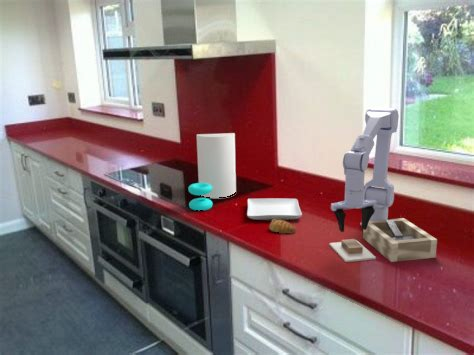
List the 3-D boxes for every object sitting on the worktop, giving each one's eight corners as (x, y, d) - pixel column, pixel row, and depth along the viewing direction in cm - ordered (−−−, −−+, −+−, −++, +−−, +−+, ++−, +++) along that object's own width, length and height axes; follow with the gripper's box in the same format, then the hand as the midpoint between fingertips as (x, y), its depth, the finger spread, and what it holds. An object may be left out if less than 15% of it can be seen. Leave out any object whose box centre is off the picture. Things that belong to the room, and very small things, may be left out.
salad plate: (302, 222, 182) (302, 214, 181) (247, 223, 183) (247, 215, 182) (297, 205, 202) (297, 197, 202) (247, 206, 203) (247, 198, 202)
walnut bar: (341, 245, 157) (341, 239, 157) (354, 244, 158) (354, 238, 158) (348, 254, 151) (349, 248, 150) (362, 252, 151) (362, 247, 151)
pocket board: (362, 237, 165) (363, 221, 163) (402, 234, 167) (403, 218, 166) (391, 262, 146) (392, 243, 144) (435, 257, 148) (437, 239, 147)
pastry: (298, 230, 174) (298, 220, 173) (291, 236, 169) (291, 226, 168) (275, 226, 179) (275, 216, 178) (267, 232, 173) (267, 222, 172)
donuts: (190, 181, 204) (213, 182, 203) (191, 204, 206) (214, 204, 205) (185, 188, 194) (209, 188, 193) (186, 211, 197) (210, 211, 196)
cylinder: (237, 197, 214) (236, 136, 207) (199, 199, 213) (196, 137, 206) (234, 187, 231) (233, 130, 223) (199, 188, 230) (196, 131, 222)
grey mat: (329, 244, 160) (329, 243, 160) (357, 242, 161) (357, 240, 161) (345, 262, 146) (345, 260, 146) (375, 259, 148) (376, 257, 148)
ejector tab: (375, 223, 160) (376, 220, 159) (402, 221, 162) (403, 217, 161) (392, 254, 150) (394, 251, 149) (421, 251, 151) (423, 248, 150)
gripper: (337, 194, 144) (336, 236, 147) (382, 191, 146) (379, 232, 150) (328, 188, 150) (327, 228, 154) (371, 184, 153) (369, 224, 156)
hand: (352, 229), depth 152 cm, fingers open, 7 cm apart
